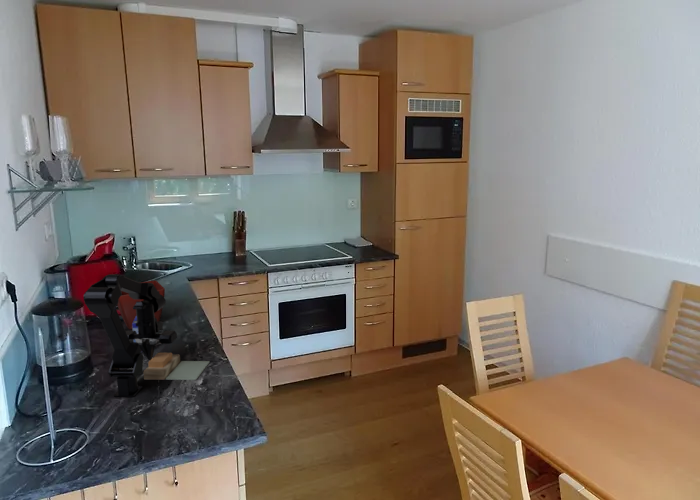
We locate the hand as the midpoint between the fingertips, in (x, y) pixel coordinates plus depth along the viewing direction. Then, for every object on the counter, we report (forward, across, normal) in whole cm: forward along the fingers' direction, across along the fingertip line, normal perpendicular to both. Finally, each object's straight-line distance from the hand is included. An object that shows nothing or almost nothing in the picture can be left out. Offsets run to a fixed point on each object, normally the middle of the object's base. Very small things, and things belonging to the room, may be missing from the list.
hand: (150, 359), depth 173 cm
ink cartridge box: (+4, +12, -20) cm, 24 cm away
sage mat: (+4, -14, 0) cm, 14 cm away
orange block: (+1, -4, 0) cm, 4 cm away
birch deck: (+4, -4, 0) cm, 6 cm away
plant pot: (+4, +26, -48) cm, 55 cm away
